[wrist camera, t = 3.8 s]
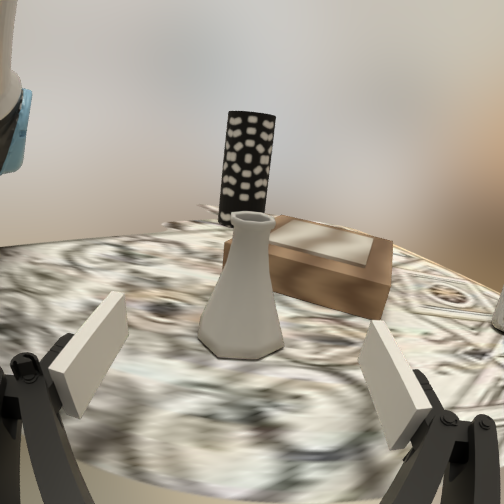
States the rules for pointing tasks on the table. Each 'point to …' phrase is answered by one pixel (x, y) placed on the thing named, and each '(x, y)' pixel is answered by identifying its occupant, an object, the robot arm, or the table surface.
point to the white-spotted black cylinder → (246, 163)
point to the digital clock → (499, 313)
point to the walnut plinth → (329, 266)
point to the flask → (244, 295)
